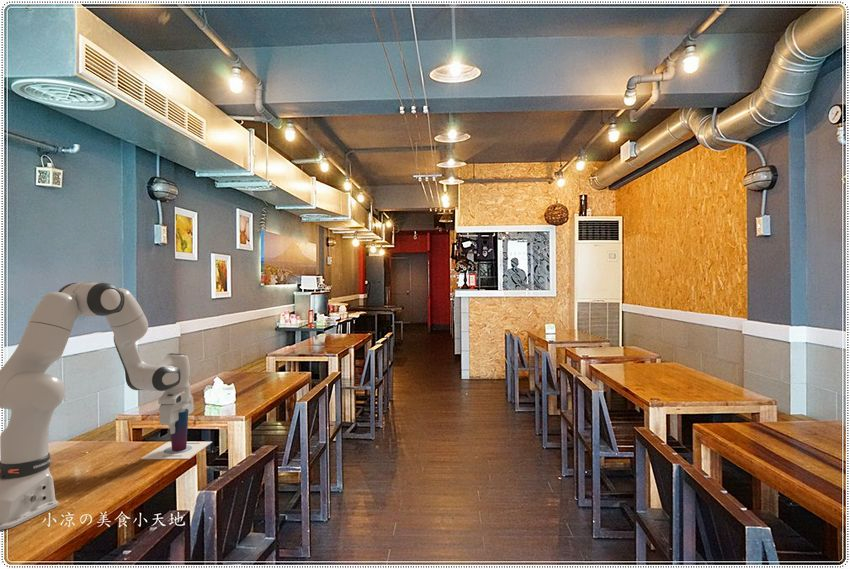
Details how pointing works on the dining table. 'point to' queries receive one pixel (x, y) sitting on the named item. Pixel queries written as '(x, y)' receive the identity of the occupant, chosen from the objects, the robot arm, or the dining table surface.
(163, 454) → the paper sheet
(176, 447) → the cup
